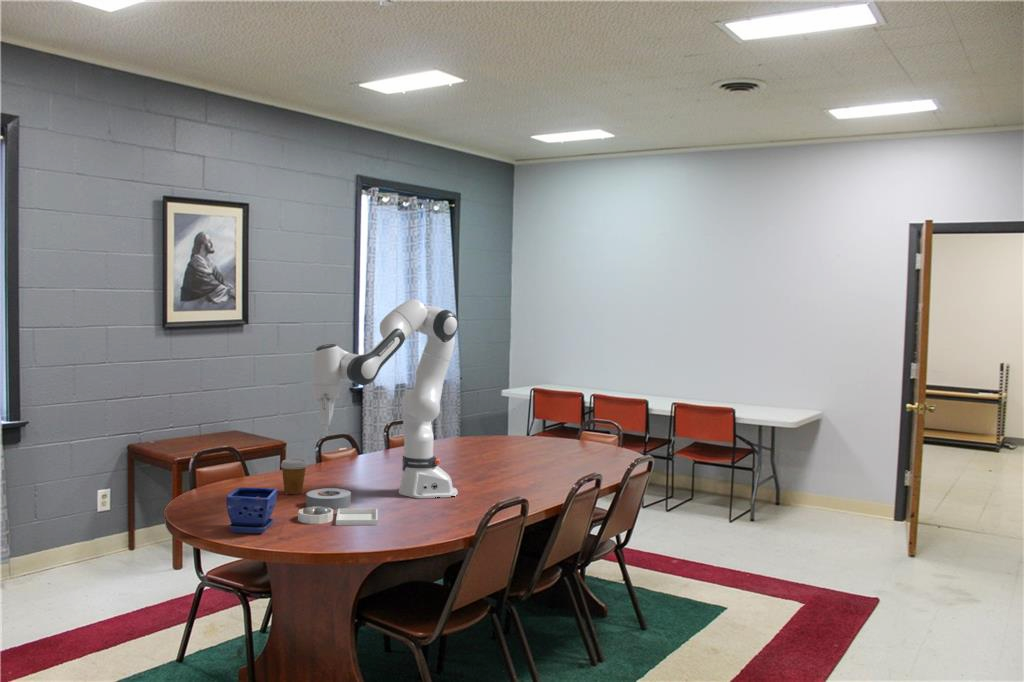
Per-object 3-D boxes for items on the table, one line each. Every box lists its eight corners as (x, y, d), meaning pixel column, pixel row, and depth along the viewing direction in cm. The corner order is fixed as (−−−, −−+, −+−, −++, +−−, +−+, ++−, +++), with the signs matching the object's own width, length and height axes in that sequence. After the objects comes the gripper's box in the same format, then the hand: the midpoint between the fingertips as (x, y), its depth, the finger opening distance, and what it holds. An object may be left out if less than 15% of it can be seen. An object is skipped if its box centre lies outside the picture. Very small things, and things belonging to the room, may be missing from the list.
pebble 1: (316, 517, 275) (316, 507, 274) (315, 520, 271) (315, 510, 270) (303, 517, 274) (303, 507, 274) (302, 520, 270) (302, 510, 270)
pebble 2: (328, 517, 275) (329, 507, 275) (327, 520, 271) (327, 510, 271) (316, 517, 275) (316, 506, 274) (315, 520, 271) (315, 510, 270)
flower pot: (278, 524, 268) (279, 487, 267) (267, 536, 255) (268, 497, 254) (236, 523, 268) (237, 486, 267) (223, 534, 254) (224, 496, 254)
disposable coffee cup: (311, 491, 313) (311, 460, 312) (298, 497, 304) (298, 464, 303) (288, 489, 316) (289, 457, 315) (275, 494, 306) (275, 462, 306)
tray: (377, 515, 283) (377, 508, 283) (377, 527, 269) (377, 520, 269) (337, 515, 281) (338, 508, 281) (335, 527, 267) (335, 520, 266)
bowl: (333, 517, 279) (334, 506, 279) (331, 526, 268) (332, 515, 268) (299, 517, 277) (300, 506, 277) (296, 526, 266) (297, 515, 266)
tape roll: (306, 513, 283) (307, 498, 283) (305, 502, 298) (305, 488, 297) (352, 512, 287) (353, 497, 287) (348, 501, 302) (349, 487, 302)
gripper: (334, 396, 272) (334, 438, 273) (337, 388, 292) (336, 427, 293) (314, 396, 271) (314, 438, 272) (318, 388, 291) (318, 427, 292)
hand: (326, 432), depth 283 cm, fingers open, 8 cm apart
